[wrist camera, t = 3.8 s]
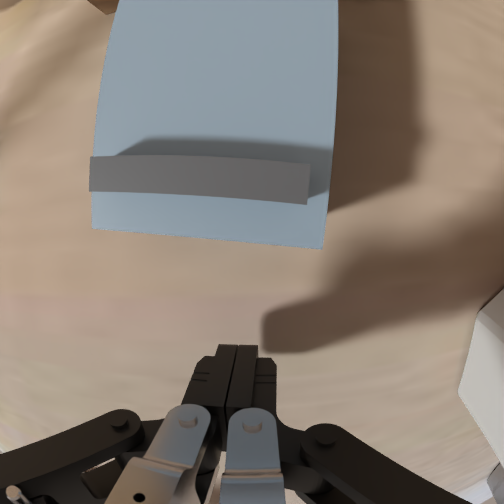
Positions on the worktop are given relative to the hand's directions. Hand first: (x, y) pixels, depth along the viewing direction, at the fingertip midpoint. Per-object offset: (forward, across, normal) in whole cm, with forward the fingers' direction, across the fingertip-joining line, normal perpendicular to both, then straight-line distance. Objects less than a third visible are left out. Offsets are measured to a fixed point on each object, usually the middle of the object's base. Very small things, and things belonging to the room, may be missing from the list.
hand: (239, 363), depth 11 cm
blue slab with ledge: (+2, 0, -10) cm, 10 cm away
